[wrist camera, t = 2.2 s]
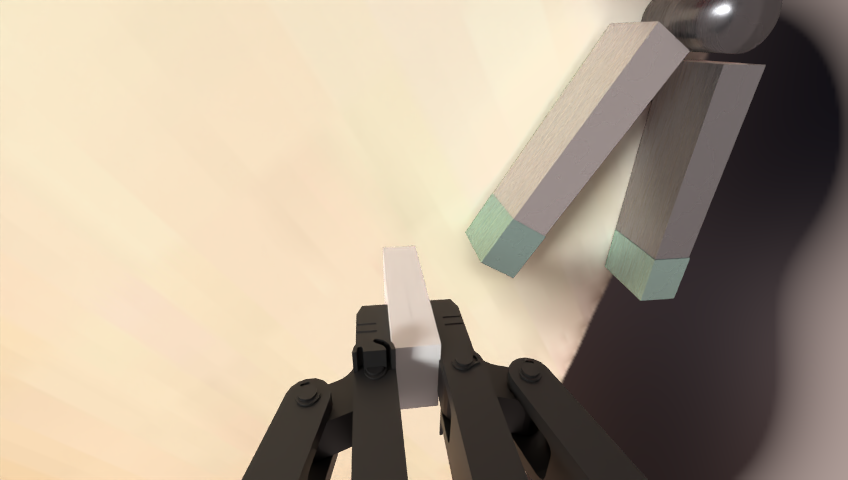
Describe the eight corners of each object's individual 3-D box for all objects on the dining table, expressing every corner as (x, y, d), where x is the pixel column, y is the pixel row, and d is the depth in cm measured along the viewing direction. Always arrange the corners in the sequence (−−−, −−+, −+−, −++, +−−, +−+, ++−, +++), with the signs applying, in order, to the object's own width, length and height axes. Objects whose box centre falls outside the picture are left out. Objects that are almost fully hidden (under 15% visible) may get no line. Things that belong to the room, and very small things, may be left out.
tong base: (649, -12, 21) (733, -25, 16) (722, -9, 22) (824, -21, 17) (579, 267, 30) (621, 312, 25) (634, 264, 30) (685, 307, 25)
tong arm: (609, 22, 21) (658, 20, 18) (639, 48, 22) (691, 51, 19) (465, 231, 26) (481, 262, 23) (493, 246, 27) (513, 278, 24)
